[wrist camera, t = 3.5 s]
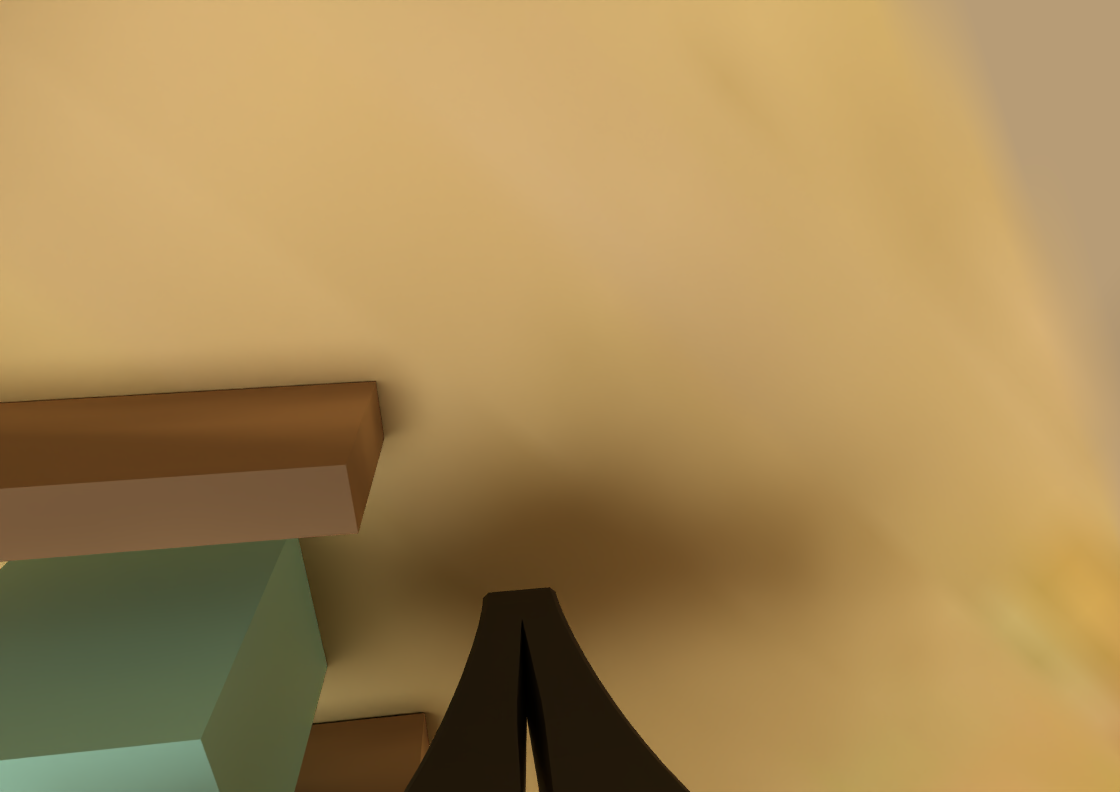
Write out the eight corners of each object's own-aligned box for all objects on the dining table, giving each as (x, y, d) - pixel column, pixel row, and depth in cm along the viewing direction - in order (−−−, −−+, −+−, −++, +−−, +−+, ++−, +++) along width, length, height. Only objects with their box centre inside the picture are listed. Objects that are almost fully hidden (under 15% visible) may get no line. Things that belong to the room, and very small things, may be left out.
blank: (328, 664, 15) (262, 912, 10) (95, 686, 15) (-78, 955, 10) (294, 519, 13) (200, 739, 9) (30, 539, 13) (-213, 782, 8)
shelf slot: (429, 747, 16) (419, 877, 14) (41, 789, 15) (-52, 937, 13) (375, 381, 12) (345, 464, 9) (-160, 412, 11) (-361, 514, 9)
